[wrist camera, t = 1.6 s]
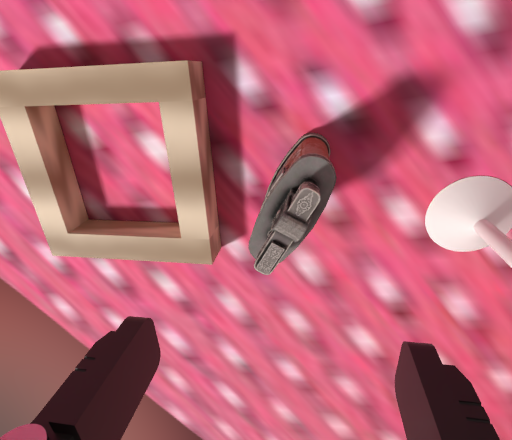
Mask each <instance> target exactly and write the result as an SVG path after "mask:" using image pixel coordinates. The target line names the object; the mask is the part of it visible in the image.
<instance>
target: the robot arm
mask: <svg viewBox="0 0 512 440" xmlns="http://www.w3.org/2000/svg"><path fill="white" fill-rule="evenodd" d="M159 361H160V347H159V343H158V339H157V335H156V331H155V326H154V322H153V320H152V319H151V318H142V317H131V316H130V317H127V318H126V319H125V320H124V321H123V322H122V324H121V325H120V326H119V328H118V329H117V330H116V331H110V332H109V333H108V334H106V335H105V336H104V337H102V338H101V339H100V340H98V341H97V342H96V343H95V344H94V345H93V347H92V348H91V349H90V350H89V352H88V353H87V354H86V355H85V358H84V359H82V361H81V362H80V363H79V364H78V365H77V367H76V368H75V371H73V372H72V373H71V374H70V375H69V377H68V378H67V379H66V380H65V382H64V383H63V384H62V385H61V387H60V388H59V389H58V391H57V392H56V393H55V394H54V396H53V397H52V398H51V399H50V401H49V402H48V403H47V404H46V406H45V407H44V408H43V410H42V411H41V412H40V413H39V414H38V416H37V417H36V418H35V419H34V420H33V421H32V422H31V423H30V424H26V425H23V426H20V427H17V428H15V429H13V430H11V431H9V432H8V433H6V434H5V435H3V436H2V437H1V438H0V440H121V438H122V436H123V434H124V432H125V430H126V428H127V426H128V424H129V422H130V420H131V419H132V417H133V415H134V413H135V411H136V409H137V407H138V405H139V403H140V401H141V399H142V397H143V395H144V393H145V392H146V390H147V388H148V386H149V384H150V382H151V380H152V378H153V376H154V374H155V372H156V370H157V368H158V365H159ZM395 392H396V398H397V402H398V406H399V410H400V414H401V418H402V422H403V425H404V429H405V433H406V437H407V440H500V439H499V437H498V435H497V433H496V431H495V429H494V427H493V425H492V424H490V419H489V417H488V415H487V413H486V412H485V410H484V408H483V407H482V406H481V402H480V400H479V398H478V396H477V394H476V392H475V390H474V388H473V386H472V384H471V383H470V381H469V380H468V379H467V378H466V377H465V376H464V375H463V374H462V373H461V372H460V371H459V370H458V369H457V368H456V367H455V366H453V365H443V364H442V362H441V360H440V358H439V355H438V353H437V351H436V349H435V347H434V346H433V345H432V344H427V343H415V342H403V344H402V347H401V352H400V356H399V361H398V366H397V370H396V375H395Z"/></svg>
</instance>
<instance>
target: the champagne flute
mask: <svg viewBox="0 0 512 440" xmlns="http://www.w3.org/2000/svg"><path fill="white" fill-rule="evenodd" d="M425 225H426V229H427V232H428V234H429V236H430V238H431V239H432V240H433V241H434V242H435V243H437V244H438V245H439V246H441V247H443V248H446V249H448V250H452V251H460V252H466V251H474V250H479V249H482V248H485V247H487V246H490V247H491V248H492V249H493V250H494V251H495V252H496V253H497V254H498V255H499V256H500V257H501V258H502V259H503V260H504V261H505V262H506V263H507V264H508V265H509V266H510V267H511V268H512V240H511V239H510V238H509V237H507V236H506V234H507V233H508V231H509V230H510V229H511V228H512V187H511V186H510V185H508V184H507V183H506V182H504V181H502V180H500V179H498V178H494V177H489V176H473V177H467V178H464V179H461V180H458V181H456V182H454V183H452V184H450V185H448V186H447V187H445V188H444V189H443V190H441V191H440V192H439V193H438V194H437V195H436V196H435V198H434V199H433V200H432V202H431V203H430V205H429V207H428V209H427V213H426V217H425Z"/></svg>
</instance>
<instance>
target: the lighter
mask: <svg viewBox="0 0 512 440" xmlns="http://www.w3.org/2000/svg"><path fill="white" fill-rule="evenodd" d="M329 156H330V147H329V143H328V141H327V140H326V138H324V137H323V136H322V135H320V134H317V133H307V134H304V135H303V136H302V137H301V138H300V139H299V140H298V141H297V142H296V143H295V145H294V146H293V147H292V148H291V149H290V150H289V152H288V153H287V154H286V156H285V157H284V159H283V161H282V162H281V164H280V165H279V167H278V168H277V170H276V172H275V174H274V176H273V178H272V181H271V183H270V185H269V187H268V190H267V194H266V197H265V200H264V202H263V204H262V207H261V211H260V213H259V215H258V217H257V220H256V222H255V225H254V228H253V232H252V235H251V238H250V241H249V250H250V253H251V254H252V256H253V257H254V258H255V259H256V260H255V264H254V268H255V269H256V270H257V271H258V272H260V273H262V274H265V275H269V274H271V273H272V272H273V270H274V269H275V267H276V266H277V264H278V263H280V262H282V261H283V260H284V259H285V258H286V257H287V256H288V255H289V254H290V253H292V252H293V251H294V250H295V249H296V248H297V247H298V246H299V245H300V243H301V242H302V241H303V240H304V238H305V237H306V236H307V235H308V233H309V232H310V231H311V230H312V229H313V227H314V225H315V224H316V222H317V220H318V219H319V217H320V215H321V213H322V212H323V210H324V208H325V207H326V204H327V202H328V200H329V197H330V195H331V193H332V190H333V188H334V186H335V183H336V173H335V169H334V166H333V165H332V163H331V161H330V160H329Z"/></svg>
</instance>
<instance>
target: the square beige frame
mask: <svg viewBox="0 0 512 440" xmlns="http://www.w3.org/2000/svg"><path fill="white" fill-rule="evenodd" d="M142 102H159V106H160V112H161V118H162V124H163V130H164V136H165V142H166V148H167V155H168V161H169V167H170V173H171V179H172V185H173V191H174V197H175V203H176V209H177V215H178V221H179V223H175V222H145V221H116V220H89V219H88V216H87V212H86V209H85V206H84V202H83V199H82V196H81V192H80V189H79V186H78V182H77V179H76V176H75V172H74V169H73V166H72V163H71V159H70V156H69V153H68V149H67V146H66V143H65V139H64V136H63V133H62V129H61V126H60V123H59V119H58V116H57V113H56V109H55V106H54V105H81V104H112V103H142ZM0 117H1V120H2V123H3V125H4V128H5V131H6V133H7V136H8V139H9V141H10V144H11V147H12V149H13V152H14V155H15V157H16V160H17V162H18V165H19V168H20V170H21V173H22V176H23V178H24V181H25V184H26V186H27V189H28V192H29V194H30V197H31V200H32V202H33V205H34V208H35V210H36V213H37V216H38V218H39V221H40V223H41V226H42V229H43V231H44V234H45V237H46V239H47V242H48V245H49V247H50V250H51V253H52V255H53V256H71V257H89V258H106V259H124V260H142V261H159V262H177V263H195V264H213V262H214V260H215V258H216V256H217V255H218V253H219V251H220V249H221V240H220V231H219V221H218V211H217V202H216V192H215V182H214V173H213V163H212V154H211V144H210V134H209V125H208V115H207V106H206V96H205V86H204V77H203V67H202V62H201V61H189V60H185V61H168V62H150V63H132V64H114V65H96V66H78V67H60V68H42V69H24V70H6V71H0Z"/></svg>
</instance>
